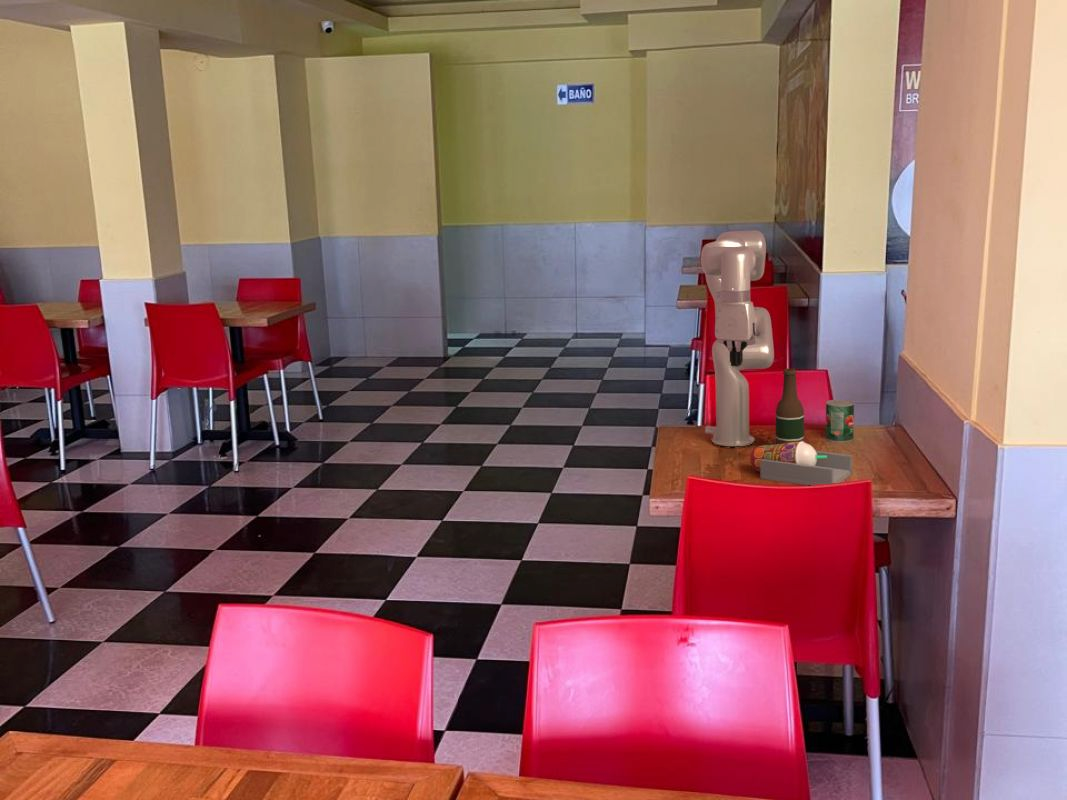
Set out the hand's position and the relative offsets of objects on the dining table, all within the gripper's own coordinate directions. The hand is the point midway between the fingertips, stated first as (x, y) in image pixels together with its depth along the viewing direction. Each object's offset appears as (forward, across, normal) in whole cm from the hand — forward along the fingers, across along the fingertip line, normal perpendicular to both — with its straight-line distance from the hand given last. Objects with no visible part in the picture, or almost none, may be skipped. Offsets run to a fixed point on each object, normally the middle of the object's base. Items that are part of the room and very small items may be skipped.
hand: (736, 365), depth 269 cm
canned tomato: (+29, +14, +38) cm, 50 cm away
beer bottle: (+28, +7, +18) cm, 35 cm away
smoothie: (+25, +6, -2) cm, 26 cm away
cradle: (+28, +20, -1) cm, 34 cm away
